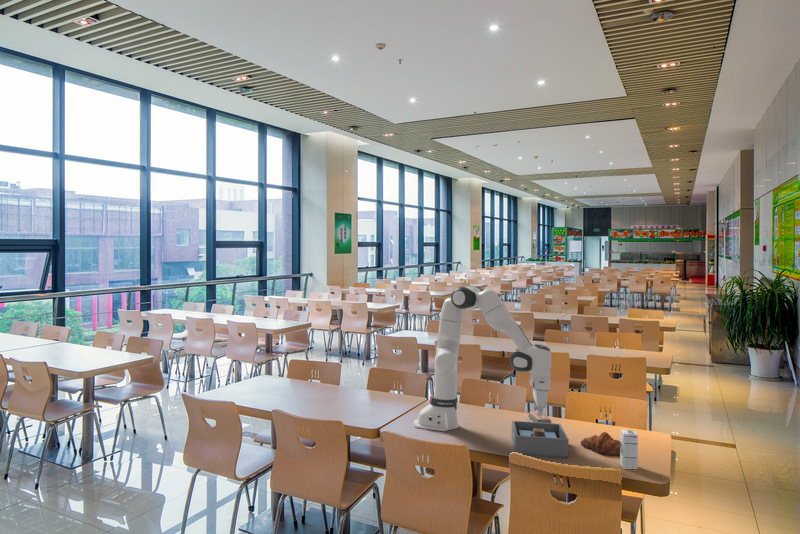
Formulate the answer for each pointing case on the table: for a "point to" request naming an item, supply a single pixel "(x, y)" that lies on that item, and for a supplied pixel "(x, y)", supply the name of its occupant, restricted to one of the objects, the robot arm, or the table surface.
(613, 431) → the table surface
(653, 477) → the table surface
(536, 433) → the peg
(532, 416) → the packaged product
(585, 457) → the table surface
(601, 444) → the pastry
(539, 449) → the open box
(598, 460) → the table surface
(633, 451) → the syrup box
